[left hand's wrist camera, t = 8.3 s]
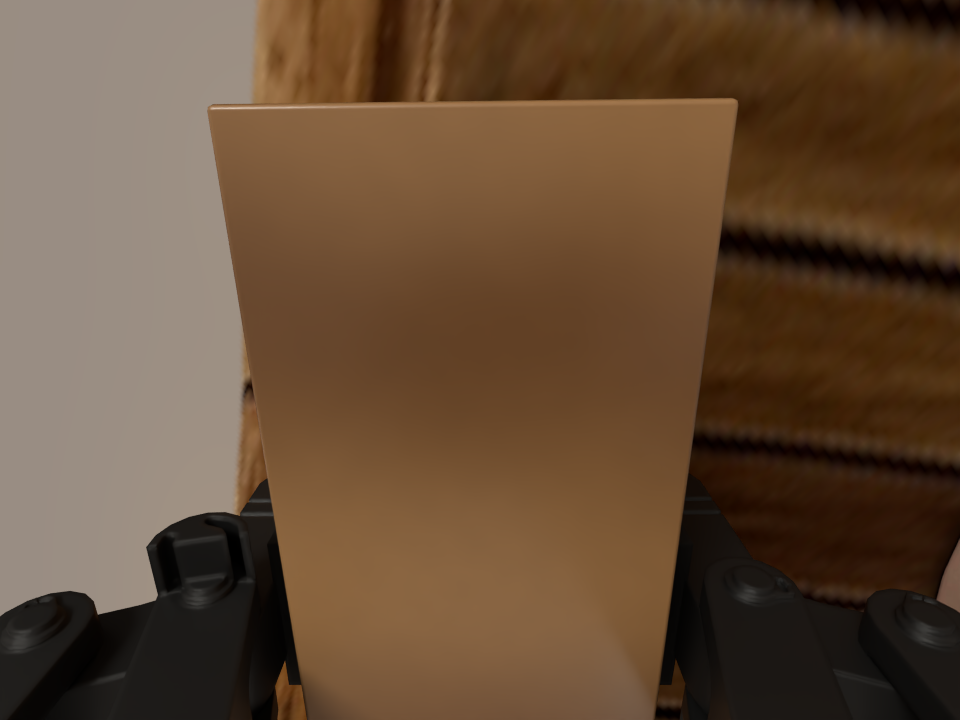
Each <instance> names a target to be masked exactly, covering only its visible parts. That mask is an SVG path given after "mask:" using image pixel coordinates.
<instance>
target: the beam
mask: <svg viewBox="0 0 960 720" xmlns="http://www.w3.org/2000/svg"><path fill="white" fill-rule="evenodd" d="M737 109H738V101H737V100H735V99H733V98H700V99H617V100H534V101H451V102H368V103H285V104H213V105H211V106H209V107H208V117H209V123H210V130H211V136H212V142H213V148H214V154H215V160H216V166H217V172H218V178H219V185H220V191H221V197H222V203H223V209H224V215H225V221H226V227H227V233H228V239H229V245H230V252H231V258H232V264H233V270H234V276H235V282H236V288H237V294H238V300H239V307H240V313H241V319H242V325H243V331H244V337H245V343H246V349H247V355H248V361H249V368H250V374H251V380H252V386H253V392H254V398H255V404H256V410H257V416H258V422H259V429H260V435H261V441H262V447H263V453H264V459H265V465H266V471H267V477H268V483H269V490H270V496H271V502H272V508H273V514H274V520H275V526H276V532H277V538H278V544H279V551H280V557H281V563H282V569H283V575H284V581H285V587H286V593H287V599H288V605H289V612H290V618H291V624H292V630H293V636H294V642H295V648H296V654H297V660H298V666H299V673H300V679H301V685H302V691H303V697H304V703H305V709H306V715H307V720H655V714H656V707H657V699H658V692H659V685H660V677H661V670H662V663H663V655H664V648H665V640H666V633H667V626H668V618H669V611H670V604H671V596H672V589H673V581H674V574H675V567H676V559H677V552H678V545H679V537H680V530H681V522H682V515H683V508H684V500H685V493H686V486H687V478H688V471H689V463H690V456H691V449H692V441H693V434H694V427H695V419H696V412H697V404H698V397H699V390H700V382H701V375H702V368H703V360H704V353H705V345H706V338H707V331H708V323H709V316H710V309H711V301H712V294H713V286H714V279H715V272H716V264H717V257H718V250H719V242H720V235H721V227H722V220H723V213H724V205H725V198H726V191H727V183H728V176H729V168H730V161H731V154H732V146H733V139H734V132H735V124H736V117H737Z"/></svg>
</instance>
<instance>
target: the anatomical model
mask: <svg viewBox="0 0 960 720" xmlns="http://www.w3.org/2000/svg"><path fill="white" fill-rule="evenodd" d="M936 600H938V601H940V602H941V603H943V604H945V605H947V606H949V607H951V608H953V609H955V610H957V611H958V612H959V613H960V539H959V541H958V543H957V545H956V548H955V550H954V552H953V554H952V556H951V558H950V560H949V563H948V565H947V567H946V569H945V572H944V575H943V577H942V580H941V584H940V588H939V592H938V596H937V599H936Z"/></svg>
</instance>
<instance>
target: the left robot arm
mask: <svg viewBox="0 0 960 720" xmlns="http://www.w3.org/2000/svg"><path fill="white" fill-rule="evenodd" d="M146 548H147V552H148V556H149V560H150V564H151V569H152V573H153V577H154V581H155V585H156V589H157V593H158V596H157V599H156V601H152V602H149V603H146V604H142V605H139V606H134V607H130V608H125V609H121V610H116V611H112V612H108V613H103V614H99V615H98V614H97V611H96V607H95V604H94V601H93V600H92V599H91V598H89V597H88V596H87V595H86V594H84V593H78V592H73V591H67V592H58V593H50V594H47V595H44V596H41V597H38V598H35V599H32V600H29V601H27V602H25V603H23V604H21V605H19V606H17V607H15V608H13V609H11V610H9V611H7V612H5V613H4V614H3V615H1V616H0V720H277V717H278V703H277V696H276V690H275V685H276V682H277V680H278V677H279V675H280V672H281V669H282V667H283V664H284V662H286V668H287V674H288V681H289V685H301V679H300V673H299V666H298V660H297V654H296V648H295V642H294V636H293V630H292V624H291V618H290V612H289V605H288V599H287V593H286V587H285V581H284V575H283V569H282V563H281V557H280V551H279V544H278V538H277V532H276V526H275V520H274V514H273V508H272V502H271V496H270V490H269V483H268V478H267V479H266V480H264V481H263V482H261V483H260V484H259V486H258V487H257V489H256V490H255V492H254V493H253V495H252V496H251V498H250V499H249V503H247V504H246V505H245V507H244V508H243V510H242V511H241V513H240V516H238V515H234V514H230V513H226V512H216V513H204V514H200V515H196V516H192V517H188V518H186V519H183V520H181V521H179V522H176V523H174V524H172V525H170V526H168V527H167V528H166V529H164V530H163V531H161V532H160V533H158V534H157V535H156V536H155V537H154V538H153V539H152V541H151V542H150V543H149V545H148V546H147V547H146ZM675 658H676V660H677V663H678V665H679V668H680V670H681V673H682V676H683V678H684V681H685V683H686V684H685V690H684V696H683V702H682V708H681V714H680V719H679V720H960V613H959V612H958V611H957V610H955V609H953V608H951V607H949V606H947V605H945V604H943V603H941V602H940V601H938V600H936V599H934V598H931V597H928V596H925V595H921V594H918V593H915V592H912V591H906V590H898V589H886V590H881V591H876V592H875V593H874V594H872V595H871V596H870V597H869V598H868V599H867V603H866V606H865V609H864V613H863V612H859V611H855V610H850V609H846V608H841V607H837V606H832V605H828V604H824V603H820V602H816V601H813V600H809V599H806V598H803V595H802V594H801V592H800V591H799V589H798V588H797V586H796V585H795V583H794V582H793V581H792V580H791V579H789V578H788V577H787V576H786V575H784V574H783V573H782V572H781V571H779V570H778V569H776V568H774V567H772V566H769V565H767V564H765V563H763V562H761V561H757V560H753V558H752V557H751V555H750V554H749V552H748V551H747V549H746V548H745V546H744V545H743V543H742V542H741V541H740V539H739V538H738V536H737V535H736V533H735V532H734V530H733V529H732V527H731V526H730V524H729V523H728V521H727V520H726V518H725V517H724V515H721V511H720V509H719V508H718V507H717V505H716V504H715V502H714V501H712V498H711V496H710V495H709V493H708V492H707V490H706V489H705V487H704V486H703V484H702V483H701V482H700V481H699V480H698V479H696V478H695V477H693V476H692V475H691V474H689V473H688V478H687V486H686V493H685V500H684V508H683V515H682V522H681V530H680V537H679V545H678V552H677V559H676V567H675V574H674V581H673V589H672V596H671V604H670V611H669V618H668V626H667V633H666V640H665V648H664V655H663V663H662V670H661V677H660V685H671V684H672V677H673V671H674V665H675Z"/></svg>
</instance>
